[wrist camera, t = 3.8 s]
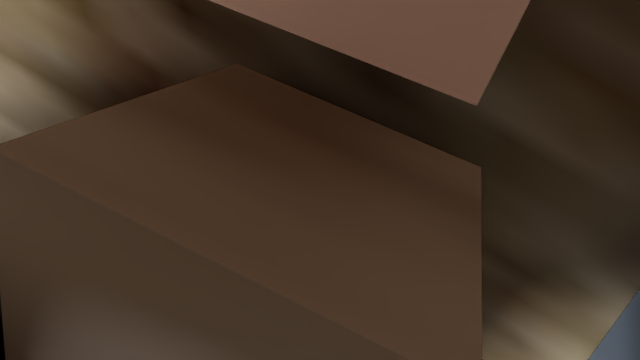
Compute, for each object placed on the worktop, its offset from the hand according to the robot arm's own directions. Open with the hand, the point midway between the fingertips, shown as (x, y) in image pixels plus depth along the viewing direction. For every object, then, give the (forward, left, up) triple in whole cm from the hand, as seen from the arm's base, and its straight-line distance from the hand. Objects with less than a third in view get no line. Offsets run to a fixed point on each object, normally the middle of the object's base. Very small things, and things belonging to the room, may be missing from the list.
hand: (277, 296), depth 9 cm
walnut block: (0, 0, -1) cm, 1 cm away
